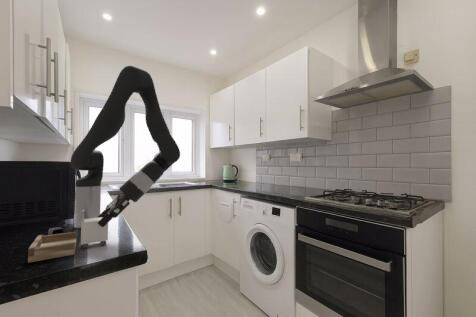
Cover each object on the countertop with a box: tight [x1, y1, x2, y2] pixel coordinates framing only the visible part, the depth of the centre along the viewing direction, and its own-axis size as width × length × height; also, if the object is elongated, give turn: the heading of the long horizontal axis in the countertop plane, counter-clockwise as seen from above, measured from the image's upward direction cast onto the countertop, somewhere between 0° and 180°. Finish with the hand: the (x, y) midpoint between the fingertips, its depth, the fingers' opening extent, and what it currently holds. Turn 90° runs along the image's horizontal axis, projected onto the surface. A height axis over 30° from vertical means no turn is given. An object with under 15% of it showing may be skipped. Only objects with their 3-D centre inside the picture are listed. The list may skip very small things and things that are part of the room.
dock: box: [27, 231, 78, 264], centre depth 68 cm, size 14×10×4 cm
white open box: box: [80, 210, 109, 250], centre depth 73 cm, size 5×7×12 cm
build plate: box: [47, 226, 64, 235], centre depth 77 cm, size 12×7×5 cm, turn 58°
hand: (99, 222), depth 73 cm, fingers open, 8 cm apart
